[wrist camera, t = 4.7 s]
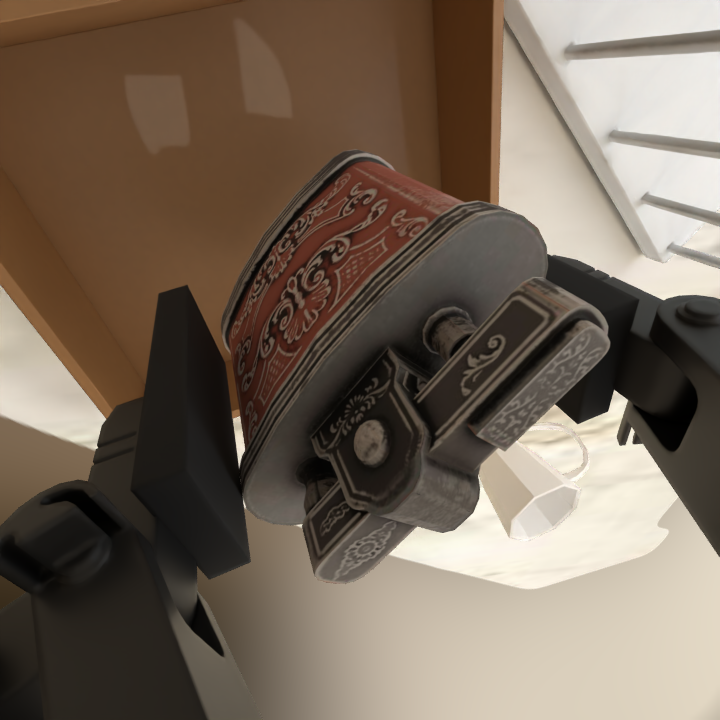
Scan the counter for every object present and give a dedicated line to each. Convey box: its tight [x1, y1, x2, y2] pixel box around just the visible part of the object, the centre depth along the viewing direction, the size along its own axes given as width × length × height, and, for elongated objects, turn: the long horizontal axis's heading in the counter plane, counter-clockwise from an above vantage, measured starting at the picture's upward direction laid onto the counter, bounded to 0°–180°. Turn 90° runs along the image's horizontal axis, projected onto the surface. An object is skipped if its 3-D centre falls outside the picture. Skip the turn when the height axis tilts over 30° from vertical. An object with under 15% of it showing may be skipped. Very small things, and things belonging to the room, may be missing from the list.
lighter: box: [221, 149, 610, 584], centre depth 10 cm, size 8×3×10 cm, turn 139°
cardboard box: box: [0, 0, 504, 419], centre depth 19 cm, size 17×21×5 cm
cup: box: [479, 422, 589, 541], centre depth 36 cm, size 7×10×8 cm
